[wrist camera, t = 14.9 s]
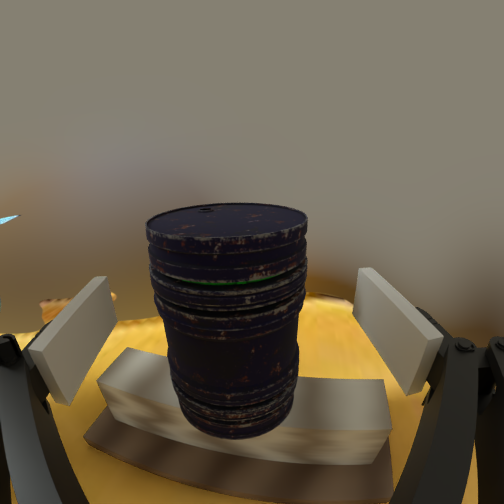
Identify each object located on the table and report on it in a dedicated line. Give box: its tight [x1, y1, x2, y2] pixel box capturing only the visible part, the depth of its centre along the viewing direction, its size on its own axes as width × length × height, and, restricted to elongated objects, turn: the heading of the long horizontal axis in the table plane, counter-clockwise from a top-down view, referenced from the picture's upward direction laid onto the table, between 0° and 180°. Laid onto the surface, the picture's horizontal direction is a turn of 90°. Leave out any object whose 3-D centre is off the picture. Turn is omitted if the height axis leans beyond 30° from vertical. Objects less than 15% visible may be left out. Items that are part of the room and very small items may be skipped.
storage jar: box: [145, 203, 308, 440], centre depth 19 cm, size 10×10×15 cm
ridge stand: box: [83, 347, 394, 504], centre depth 23 cm, size 30×14×8 cm, turn 78°
